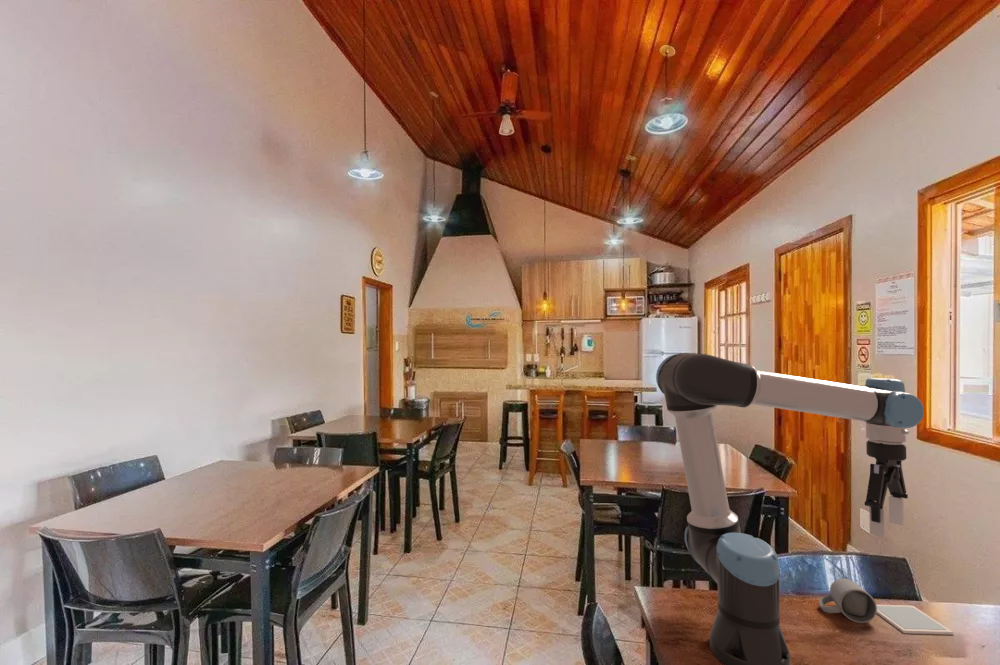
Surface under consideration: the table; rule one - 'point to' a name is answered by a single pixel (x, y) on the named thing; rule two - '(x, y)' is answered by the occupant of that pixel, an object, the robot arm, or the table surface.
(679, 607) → the table surface
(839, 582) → the ceramic mug
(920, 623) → the plate
